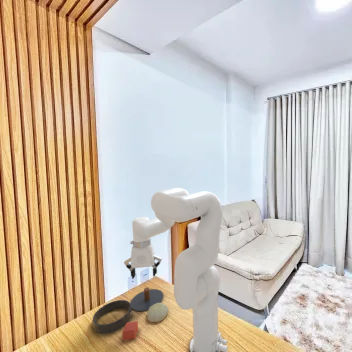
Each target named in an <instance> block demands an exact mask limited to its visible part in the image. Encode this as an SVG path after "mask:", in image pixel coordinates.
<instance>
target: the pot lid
mask: <svg viewBox="0 0 352 352" xmlns="http://www.w3.org/2000/svg"><path fill="white" fill-rule="evenodd" d="M163 300H164V293H163V291H161V290H160V289H155V288H151V289H150V287H144V289H143V291H140V292H139V293H137V294H136V295H135V296H133V298H132V299H131V300H130V303H131V310H132V311H135V312H140V313H141V312H148V310H149V308H150V307H151V306H152V305H154V304H156V303H162V302H163Z"/></svg>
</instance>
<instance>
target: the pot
mask: <svg viewBox="0 0 352 352" xmlns="http://www.w3.org/2000/svg"><path fill="white" fill-rule="evenodd" d="M119 309H125V310H128V311H127V312H126V314H124V315H123V316H122V317H120V318H119V319H116V320H115V321H112V322H110V323H104V324H103V323H101V324H100V323H97V322H98V321H99V320H100V319H101V318H102V317H103V316H104V315H106V314H108V313H109V312H111V311H115V310H119ZM132 311H133V310H132V308H131V301H128V300H126V299H118V300H113V301H111V302H110V301H109V302H108V303H106V304H104V305H102V306H101V307H99V309H97V310H96V311H95V312H94V314H93V316H92V327H93V331H94V332H95V333H96V334H98V335H106V334H112V333H114V332H116V331H119V330H120V329H122V328H124V327H125V325H126V323H127V322H130V320H131V319H132V315H133V313H132Z"/></svg>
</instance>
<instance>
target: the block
mask: <svg viewBox="0 0 352 352" xmlns="http://www.w3.org/2000/svg"><path fill="white" fill-rule="evenodd" d="M138 332H139V322H138V320H136V321H128V322H127V323H126V324H125V325H124V326H123V330H122V339H123V340H122V341H127V340H135V339H136V337H137V334H138Z"/></svg>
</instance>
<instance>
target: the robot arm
mask: <svg viewBox="0 0 352 352" xmlns="http://www.w3.org/2000/svg"><path fill="white" fill-rule="evenodd" d="M150 207H151V209H152V211H153V212H154V215H155V217H156V218H153V219H150V218H149V217H147V216H138V217H136V218H133V220H132V221H131V225H132V227H131V228H132V240H131V241H130V243H129V245H132V246H131V252H130V257H129V258H127V259H126V260H124V262H123V264H124V266H125V267H126V269H128V270H129V271H130V277H131V279H132V280H133V279H135V278H136V269H140V268H141V269H142V268H150V267H152V277H156V275H157V274H158V267H159V266H160V264H161V262H162V260H163V258H162V257H160V256H158V255H156V254H155V249H154V246H153V243H152V241H151V239H152V238H153V237H155V236H158V235H161V234H164V233H166V232H167V231H169V230H170V229H171V228H172V227H173V226H174V225H175V224H176V222H177V223H178V222H179V223H184V222H188V221H191V220H193V219H196V218H199V217H201V218H200V219H199V222H198V223H197V227H196V230H195V240H194V243H193V245H192V246H190V247H188V248H186V249H184V250H182V251H181V252H180V253H179V254H178V256H176V258H175V262H174V274H173V296H174V300H175V303H176V305H177V307H179V308H180V309H182V310H184V311H188V310H191V309H192V329H193V330H192V331H193V334H192V335H193V337H192V339H190V342H189V352H228V350H229V346H228V345H227V344H228V339H224V338H223V336H222V332H220V331H219V291H220V284H221V276H220V273H219V271H218V268H216V267H215V264H216V263H217V262H218V258H219V250H220V239H221V238H220V235H221V227H222V221H223V206H222V203H221V200H220V199H219V197H218V196H217V195H216V194H215V193H213V192H211V191H209V190H208V191H207V190H205V191H204V190H203V191H197V192H192V193H189V192H188V190H187V189H185V188H182V187H173V188H167V189H162V190H157V191H156V192H155V193H153V195H152V197H151V200H150ZM156 261H157V262H156Z"/></svg>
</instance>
